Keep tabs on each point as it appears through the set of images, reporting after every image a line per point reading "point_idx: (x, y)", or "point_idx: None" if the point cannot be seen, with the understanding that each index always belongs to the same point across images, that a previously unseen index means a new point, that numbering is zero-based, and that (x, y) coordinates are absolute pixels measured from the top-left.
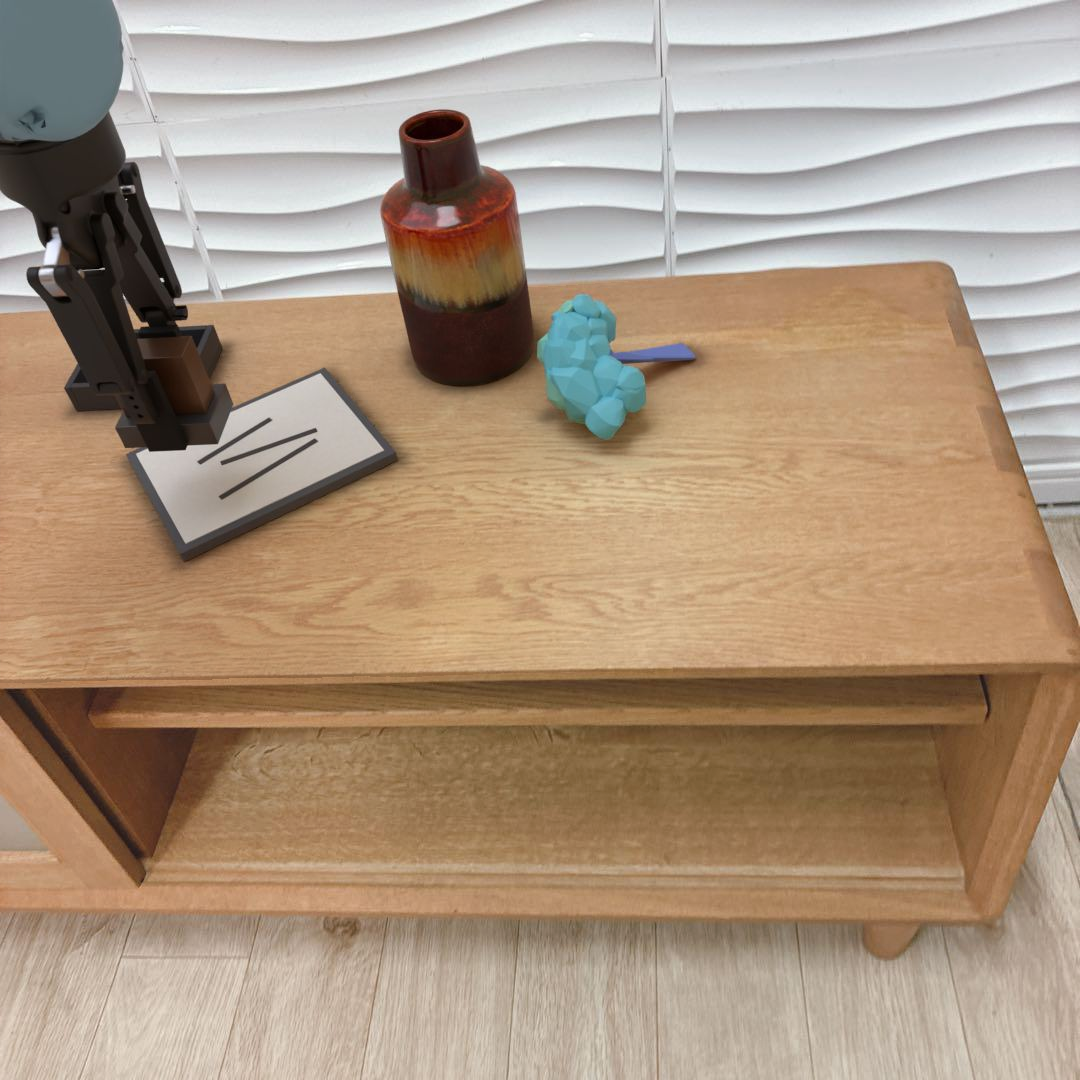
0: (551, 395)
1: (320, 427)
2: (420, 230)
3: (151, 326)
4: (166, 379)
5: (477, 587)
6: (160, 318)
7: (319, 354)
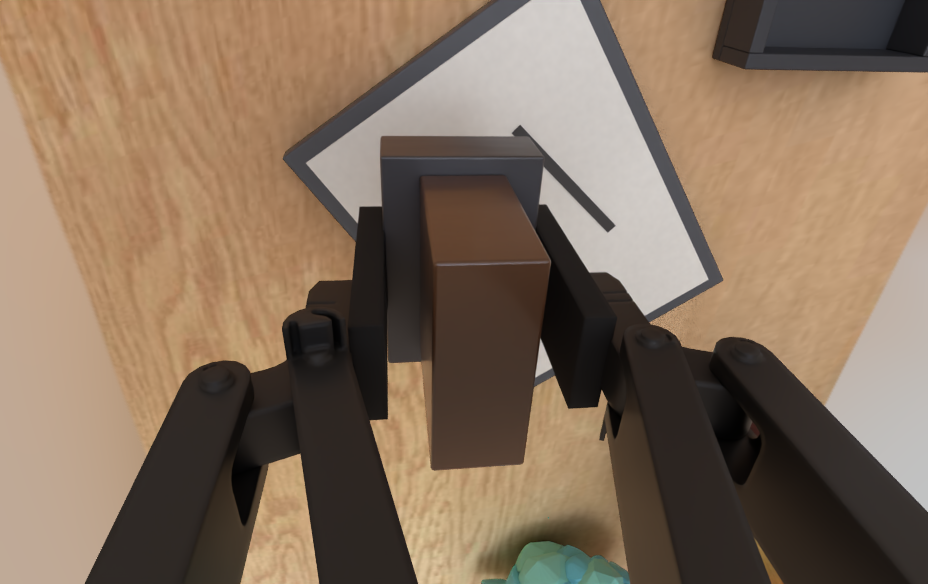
0: (534, 572)
1: None
2: None
3: (609, 345)
4: (426, 371)
5: (279, 498)
6: (610, 394)
7: (776, 248)
